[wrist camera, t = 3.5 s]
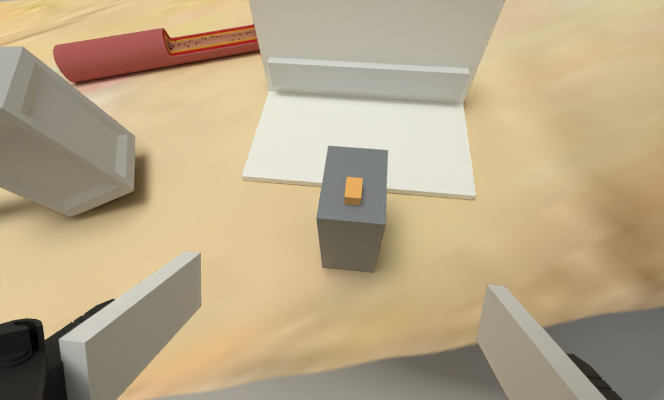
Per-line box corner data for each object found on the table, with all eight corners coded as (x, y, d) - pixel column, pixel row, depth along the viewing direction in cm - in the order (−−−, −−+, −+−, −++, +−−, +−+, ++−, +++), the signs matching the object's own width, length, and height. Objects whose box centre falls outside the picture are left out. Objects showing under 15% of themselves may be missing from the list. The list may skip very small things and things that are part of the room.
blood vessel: (342, 24, 56) (343, -8, 51) (351, 40, 53) (352, 9, 49) (79, 68, 50) (55, 37, 46) (74, 89, 48) (49, 59, 44)
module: (376, 210, 36) (389, 141, 26) (373, 272, 32) (387, 217, 23) (330, 206, 36) (327, 137, 27) (322, 267, 32) (315, 211, 23)
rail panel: (460, 100, 45) (503, -11, 33) (473, 199, 36) (538, 99, 24) (272, 88, 47) (249, -20, 35) (243, 180, 38) (200, 78, 26)
